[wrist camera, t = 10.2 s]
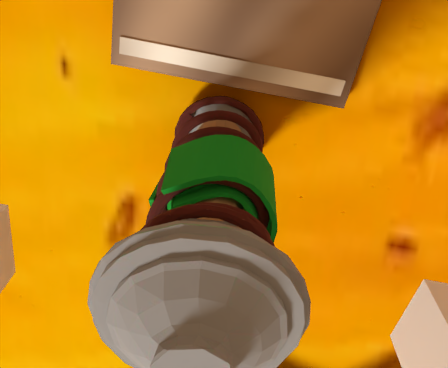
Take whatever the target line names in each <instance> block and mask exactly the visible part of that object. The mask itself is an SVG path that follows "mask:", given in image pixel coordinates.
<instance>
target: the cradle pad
mask: <svg viewBox="0 0 448 368" xmlns="http://www.w3.org/2000/svg"><path fill="white" fill-rule="evenodd" d="M381 1H382V0H114V1H113V27H112V53H111V64H115V65H120V66H126V67H131V68H136V69H141V70H146V71H152V72H157V73H162V74H167V75H172V76H178V77H183V78H188V79H193V80H198V81H204V82H209V83H214V84H219V85H224V86H230V87H235V88H240V89H245V90H250V91H256V92H261V93H266V94H271V95H276V96H282V97H287V98H292V99H297V100H302V101H308V102H313V103H318V104H323V105H328V106H334V107H339V108H344V106H345V103H346V100H347V98H348V95H349V92H350V89H351V86H352V83H353V81H354V78H355V75H356V72H357V69H358V66H359V64H360V61H361V58H362V55H363V52H364V49H365V47H366V44H367V41H368V38H369V35H370V32H371V30H372V27H373V24H374V21H375V18H376V15H377V12H378V10H379V7H380V4H381Z"/></svg>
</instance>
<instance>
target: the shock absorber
mask: <svg viewBox="0 0 448 368" xmlns="http://www.w3.org/2000/svg"><path fill="white" fill-rule="evenodd" d="M263 144H264V134H263V129H262V125H261V122H260V120H259V119H258V117H257V116H256V114H255V113H254V111H253V110H252V109H250V108H249V107H248V106H247V105H245V104H244V103H242V102H240V101H237V100H235V99H233V98H230V97H227V96H215V97H207V98H204V99H202V100H199V101H197V102H195V103H193V104H192V105H190V106H189V107H188V108H186V110H185V111H184V112H183V113H182V115H181V116H180V118H179V121H178V123H177V126H176V128H175V138H174V141H173V143H172V148H171V152H170V154H169V156H168V159H167V161H166V163H165V172H164V173H163V175H162V177H161V179H160V181H159V182H158V184H157V186H156V188H155V189H154V191H153V193H152V195H151V197H150V198H149V203H150V207H151V208H150V210H149V213H148V215H147V220H146V225H145V226H144V227H143V228H142V229H141V230H140V231H139V232H137V233H135V234H133V235H131V236H129V237H127V238H125V239H123V240H121V241H119V242H117V243H115V245H114V246H113V247H112V248H111V249H110V250H109V251H108V252H107V253H106V255H105V256H104V257H103V258H102V259H101V260H100V261H99V263H98V265H97V267H96V269H95V271H94V274H93V276H92V278H91V280H90V286H89V295H88V306H89V309H90V311H91V314H92V316H93V322H94V324H95V326H96V328H97V331H98V333H99V335H100V337H101V339H102V341H103V342H104V343H105V344H106V345H107V346H108V347H109V348H110V349H111V350H112V351H113V352H114V353H115V354H116V355H117V356H118V357H119V358H120V359H121V360H122V361H123V362H124V363H126V364H128V365H130V366H132V367H134V368H277V367H278V366H279V365H280V364H281V363H282V362H283V360H284V359H285V358H286V357H287V356H288V355H289V354H290V353H291V352H292V351H293V350H294V349H295V348H296V347H297V346H298V344H299V341H300V339H301V337H302V335H303V334H304V332H305V330H306V329H307V327H308V325H309V320H310V303H311V301H310V298H309V294H308V291H307V287H306V283H305V279H304V278H303V277H302V275H301V274H300V272H299V271H298V269H297V268H296V267H295V265H294V264H293V262H292V261H291V259H290V258H289V256H288V255H286V254H285V253H283V252H282V251H280V250H279V249H277V248H276V247H275V246H274V243H273V242H274V239H275V236H276V233H277V215H276V201H275V188H274V175H273V171H272V167H271V166H270V164H269V162H268V161H267V159H266V157H265V156H264V154H263V153H262V148H263Z"/></svg>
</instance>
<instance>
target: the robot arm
mask: <svg viewBox="0 0 448 368" xmlns="http://www.w3.org/2000/svg"><path fill="white" fill-rule="evenodd" d="M14 273H15V264H14V255H13V246H12V237H11V228H10V219H9V210H8V205H4V204H0V293H1V291H2V290H3V289H4V287H5V286H6V284H7V283H8V282H9V280H10V279H11V277H12V276H13V275H14ZM390 337H391V340H392V343H393V345H394V348H395V351H396V354H397V356H398V359H399V362H400V365H401V367H402V368H448V285H447V283H442V282H436V281H431V280H425V279H424V280H423V281H422V283H421V285H420V286H419V288H418V290H417V291H416V293H415V295H414V296H413V298H412V300H411V301H410V303H409V305H408V307H407V308H406V310H405V312H404V313H403V315H402V317H401V318H400V320H399V322H398V323H397V325H396V327H395V328H394V330H393V332H392V333H391V335H390Z"/></svg>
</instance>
